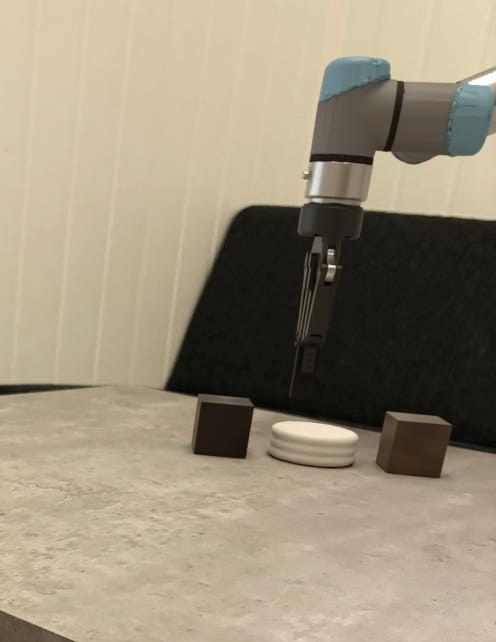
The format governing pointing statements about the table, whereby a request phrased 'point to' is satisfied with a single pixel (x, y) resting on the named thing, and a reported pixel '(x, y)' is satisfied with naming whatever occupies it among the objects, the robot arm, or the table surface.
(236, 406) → the dark brown cube
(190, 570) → the table surface
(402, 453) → the dark brown wooden cube
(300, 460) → the white stacked disc
